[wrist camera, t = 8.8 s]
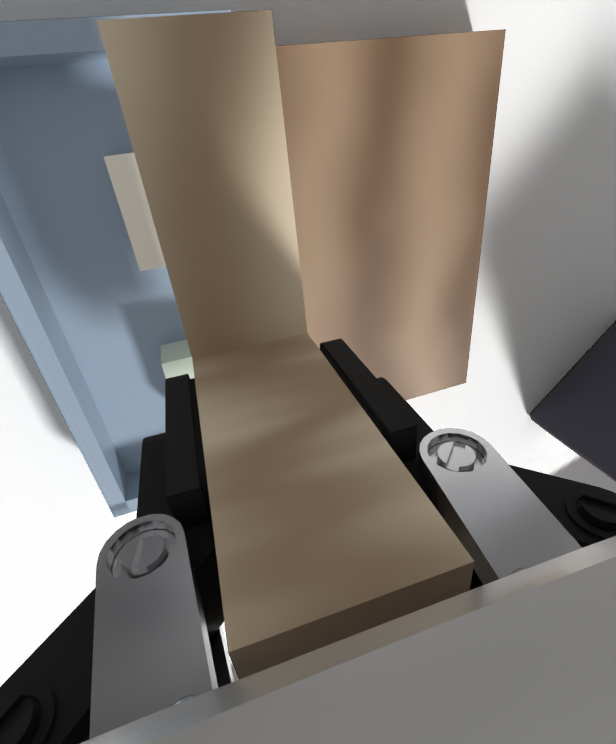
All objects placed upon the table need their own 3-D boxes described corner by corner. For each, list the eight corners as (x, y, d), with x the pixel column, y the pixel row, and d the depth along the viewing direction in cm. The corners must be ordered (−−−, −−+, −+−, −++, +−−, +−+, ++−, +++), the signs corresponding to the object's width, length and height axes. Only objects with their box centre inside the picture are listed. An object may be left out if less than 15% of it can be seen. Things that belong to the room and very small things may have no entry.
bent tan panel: (248, 38, 10) (654, -456, 2) (313, 508, 18) (431, 804, 10) (112, 47, 9) (-299, -655, 1) (244, 529, 17) (312, 863, 9)
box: (217, 33, 16) (231, 9, 13) (283, 425, 26) (299, 460, 23) (-75, 52, 14) (-134, 28, 11) (119, 471, 24) (114, 517, 21)
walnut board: (475, 39, 19) (505, 29, 18) (447, 368, 29) (465, 382, 27) (221, 58, 17) (229, 49, 15) (281, 415, 26) (290, 433, 24)
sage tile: (242, 327, 21) (249, 342, 19) (255, 393, 23) (263, 412, 21) (160, 345, 20) (161, 363, 18) (181, 412, 22) (184, 434, 20)
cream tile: (212, 141, 17) (219, 141, 15) (232, 242, 19) (240, 252, 17) (108, 155, 16) (103, 156, 14) (141, 259, 18) (140, 271, 16)
